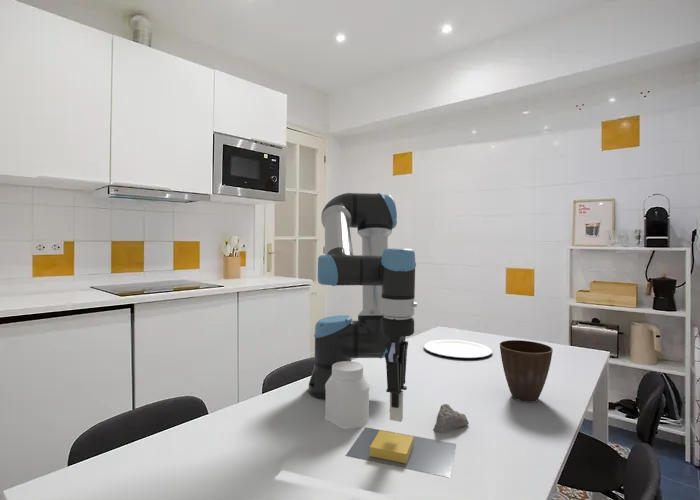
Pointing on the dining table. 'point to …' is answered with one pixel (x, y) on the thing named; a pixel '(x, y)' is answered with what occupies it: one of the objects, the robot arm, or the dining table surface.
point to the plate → (458, 349)
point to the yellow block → (392, 446)
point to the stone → (449, 419)
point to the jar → (347, 396)
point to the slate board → (422, 457)
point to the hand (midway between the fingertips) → (396, 419)
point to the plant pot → (525, 367)
